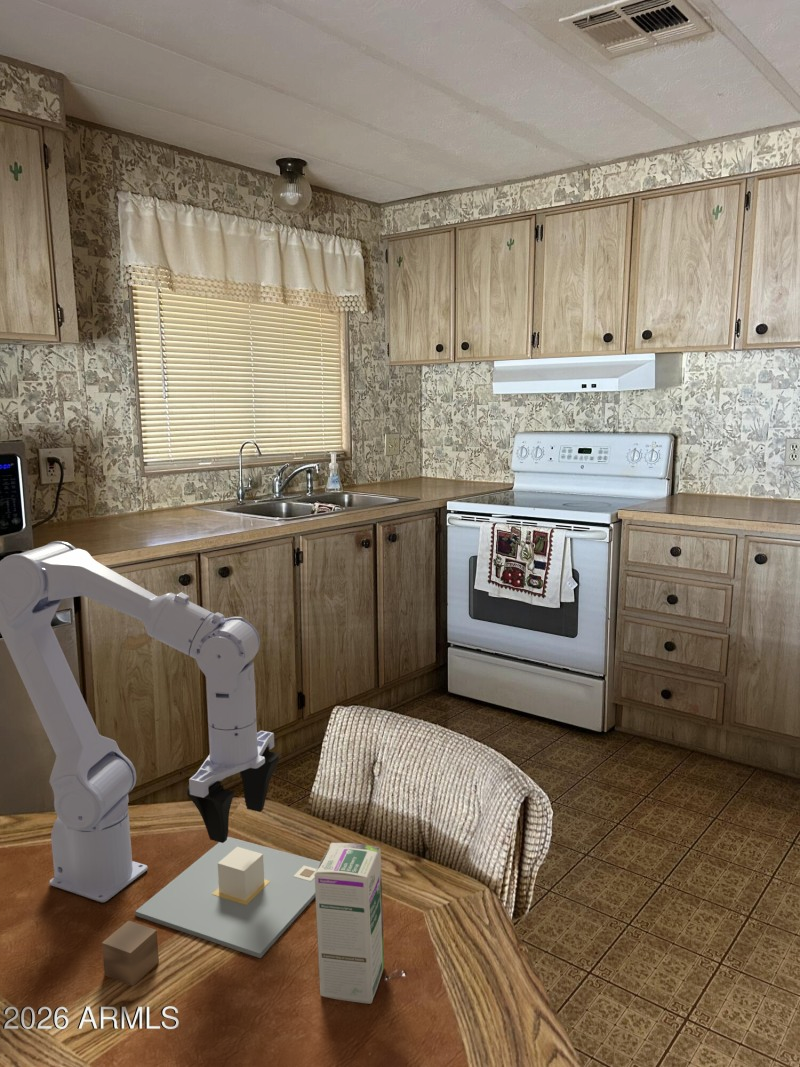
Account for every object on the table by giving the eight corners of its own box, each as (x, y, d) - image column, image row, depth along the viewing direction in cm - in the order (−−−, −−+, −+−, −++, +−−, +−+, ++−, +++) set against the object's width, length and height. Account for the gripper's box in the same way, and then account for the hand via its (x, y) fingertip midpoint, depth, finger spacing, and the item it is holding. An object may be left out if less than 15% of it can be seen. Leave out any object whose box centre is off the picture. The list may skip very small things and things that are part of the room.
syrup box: (372, 1006, 81) (370, 877, 79) (317, 997, 83) (313, 870, 80) (384, 967, 87) (383, 845, 84) (332, 959, 88) (329, 839, 86)
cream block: (219, 892, 99) (217, 863, 98) (238, 874, 103) (237, 846, 102) (245, 900, 97) (244, 871, 97) (264, 882, 101) (263, 853, 100)
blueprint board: (135, 915, 96) (134, 910, 96) (226, 840, 112) (226, 835, 112) (260, 958, 88) (260, 952, 88) (338, 870, 105) (338, 865, 104)
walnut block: (104, 975, 86) (101, 942, 85) (131, 952, 90) (128, 920, 89) (133, 986, 85) (130, 953, 84) (158, 962, 88) (156, 929, 87)
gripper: (222, 750, 88) (228, 862, 90) (292, 704, 101) (296, 803, 103) (172, 739, 91) (178, 848, 93) (246, 695, 104) (250, 792, 106)
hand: (237, 824), depth 98 cm, fingers open, 7 cm apart
